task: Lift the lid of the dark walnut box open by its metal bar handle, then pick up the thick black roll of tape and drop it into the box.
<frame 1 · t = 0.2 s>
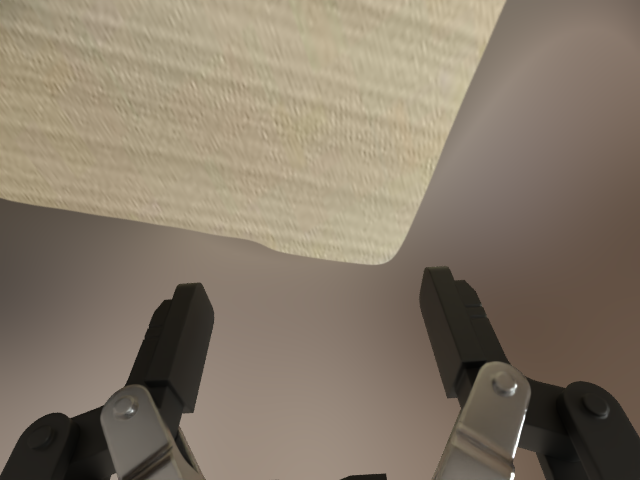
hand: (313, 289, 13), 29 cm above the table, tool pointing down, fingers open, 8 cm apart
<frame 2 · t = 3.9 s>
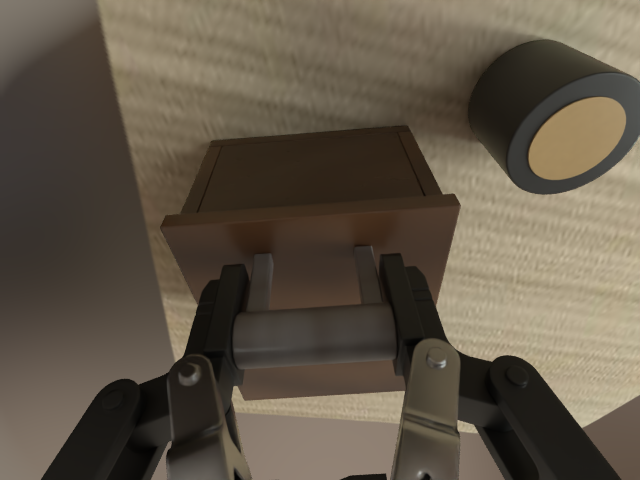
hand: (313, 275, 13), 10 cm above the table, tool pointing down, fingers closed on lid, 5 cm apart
lid: (323, 366, 16), point 10 cm above the table, hinge at 0.0°, touching gripper
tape: (521, 98, 19), on the table
box: (318, 227, 24), on the table
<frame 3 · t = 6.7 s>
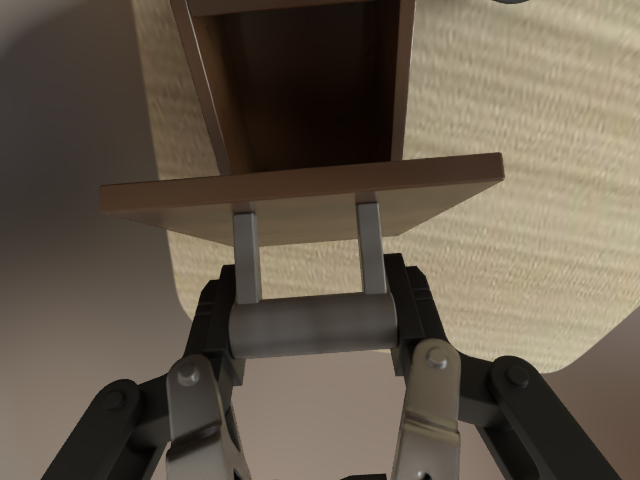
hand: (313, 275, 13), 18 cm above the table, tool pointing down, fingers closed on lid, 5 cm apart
lid: (316, 268, 17), point 15 cm above the table, hinge at 44.3°, touching gripper
box: (306, 92, 26), on the table
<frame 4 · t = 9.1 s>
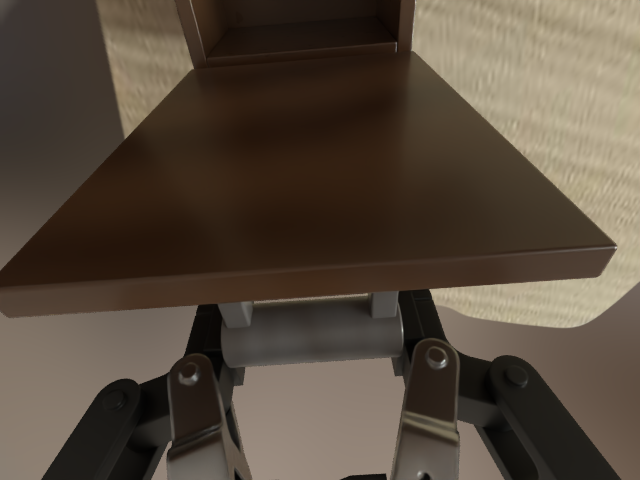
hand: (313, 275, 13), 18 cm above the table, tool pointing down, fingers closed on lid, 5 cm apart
lid: (307, 183, 13), point 16 cm above the table, hinge at 88.2°, touching gripper
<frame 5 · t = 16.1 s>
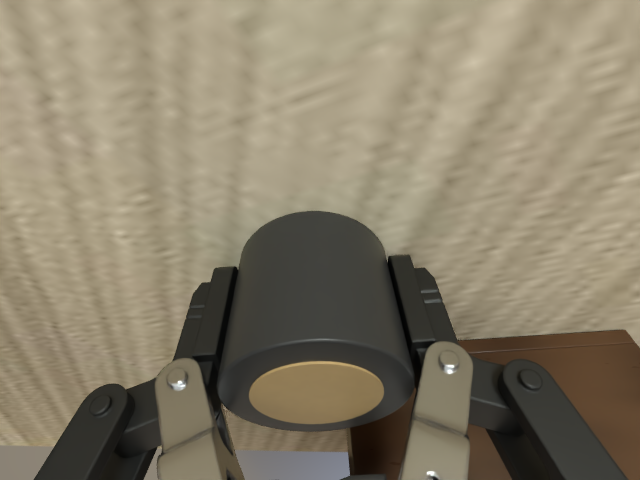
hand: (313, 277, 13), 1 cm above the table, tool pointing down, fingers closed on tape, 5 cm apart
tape: (313, 267, 14), on the table, touching gripper
box: (460, 389, 21), on the table
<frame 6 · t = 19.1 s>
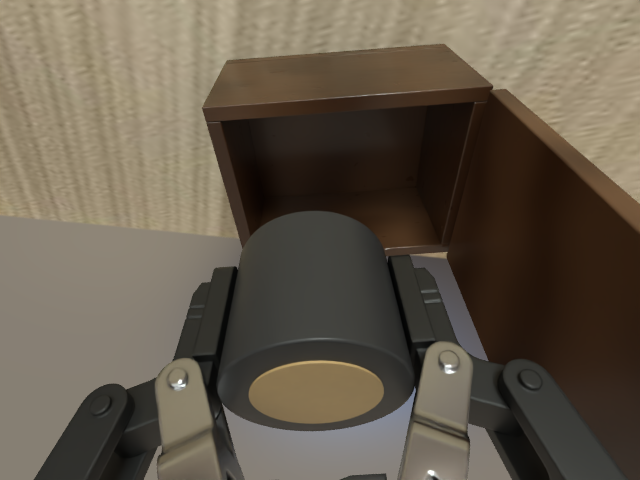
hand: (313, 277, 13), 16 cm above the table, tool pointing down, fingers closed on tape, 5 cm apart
lid: (586, 285, 15), point 16 cm above the table, hinge at 88.8°
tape: (313, 266, 14), point 15 cm above the table, touching gripper
box: (337, 133, 26), on the table
when the fingers open (6 cm above the table, at t = 22.2 s): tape drops 5 cm, resting on box.
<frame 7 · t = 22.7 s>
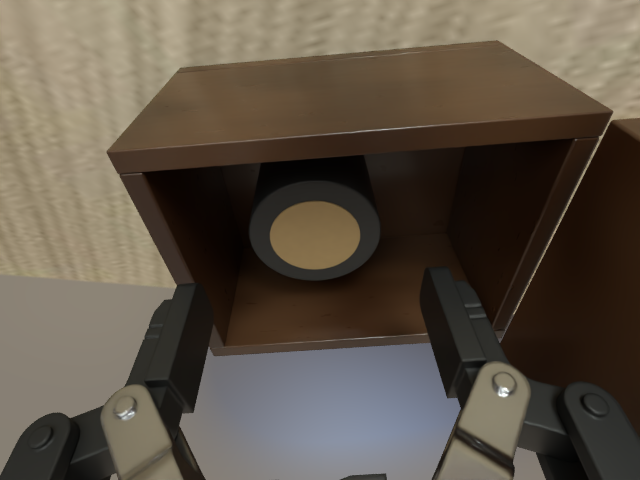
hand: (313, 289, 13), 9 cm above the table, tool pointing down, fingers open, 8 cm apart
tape: (313, 174, 19), point 1 cm above the table, touching box
box: (341, 165, 19), on the table
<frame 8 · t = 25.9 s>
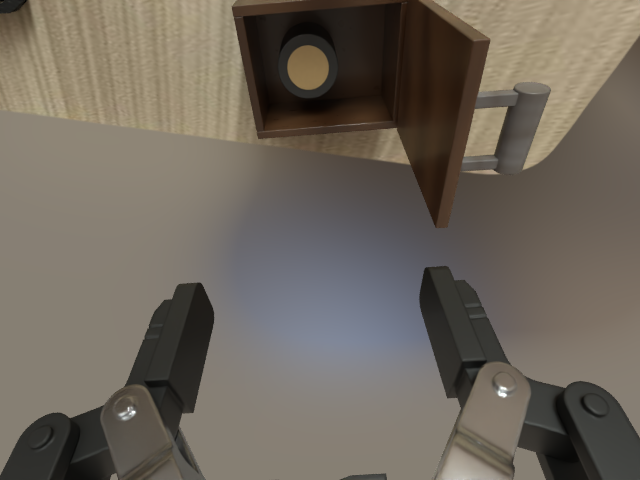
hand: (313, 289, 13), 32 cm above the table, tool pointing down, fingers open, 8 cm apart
lid: (459, 99, 25), point 16 cm above the table, hinge at 88.8°
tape: (307, 53, 36), point 1 cm above the table, touching box
box: (322, 50, 37), on the table
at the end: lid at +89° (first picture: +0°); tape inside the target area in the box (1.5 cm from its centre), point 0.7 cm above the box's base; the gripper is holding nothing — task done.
